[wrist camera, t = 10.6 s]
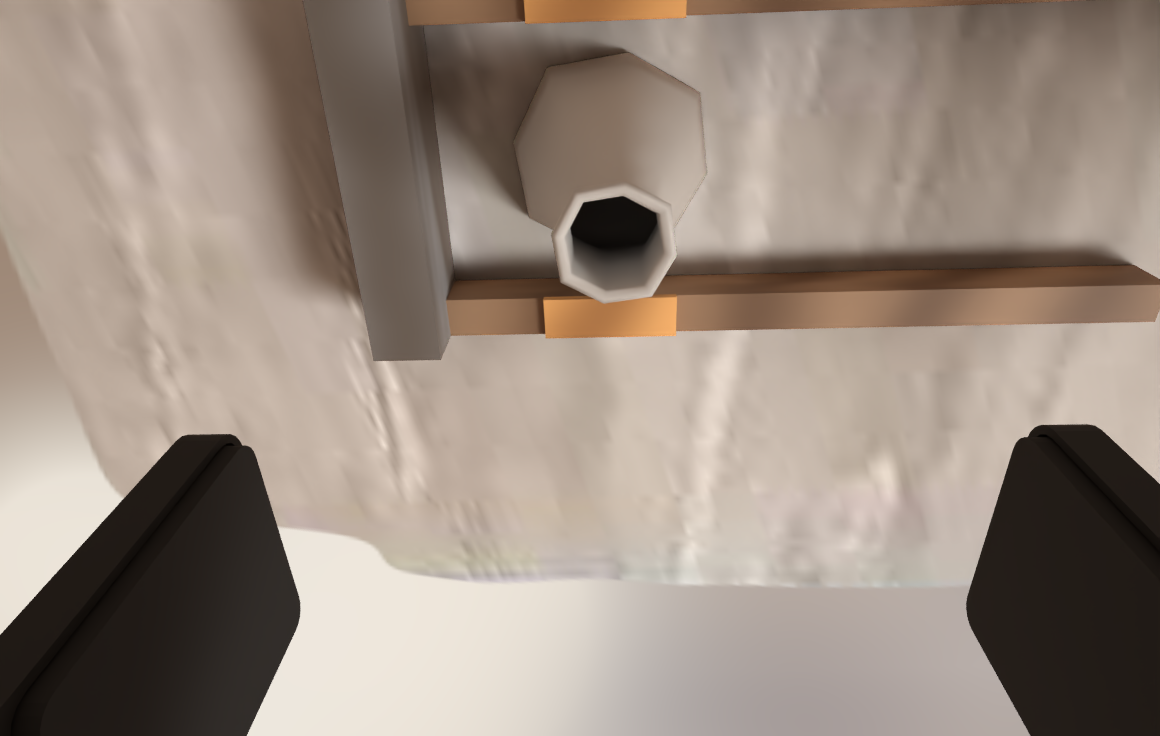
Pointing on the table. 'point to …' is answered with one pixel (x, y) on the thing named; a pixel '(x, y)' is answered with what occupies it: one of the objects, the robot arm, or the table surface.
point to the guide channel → (546, 306)
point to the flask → (611, 171)
